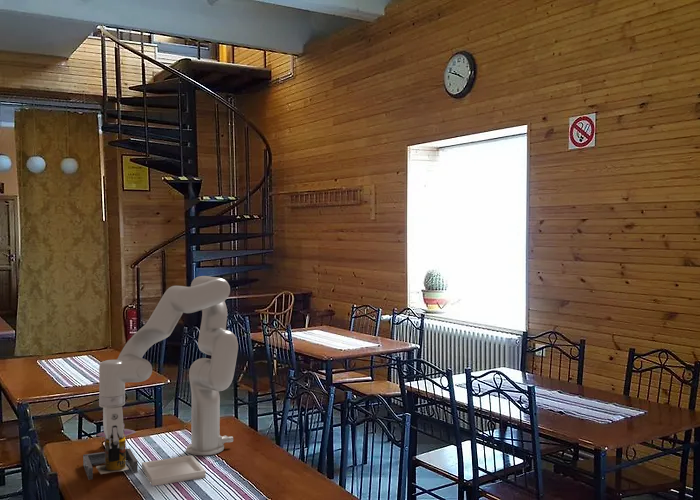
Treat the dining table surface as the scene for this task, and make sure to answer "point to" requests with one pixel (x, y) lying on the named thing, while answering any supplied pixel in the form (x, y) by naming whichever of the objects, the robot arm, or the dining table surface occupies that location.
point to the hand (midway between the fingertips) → (112, 457)
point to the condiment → (114, 465)
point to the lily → (126, 432)
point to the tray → (173, 470)
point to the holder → (100, 459)
